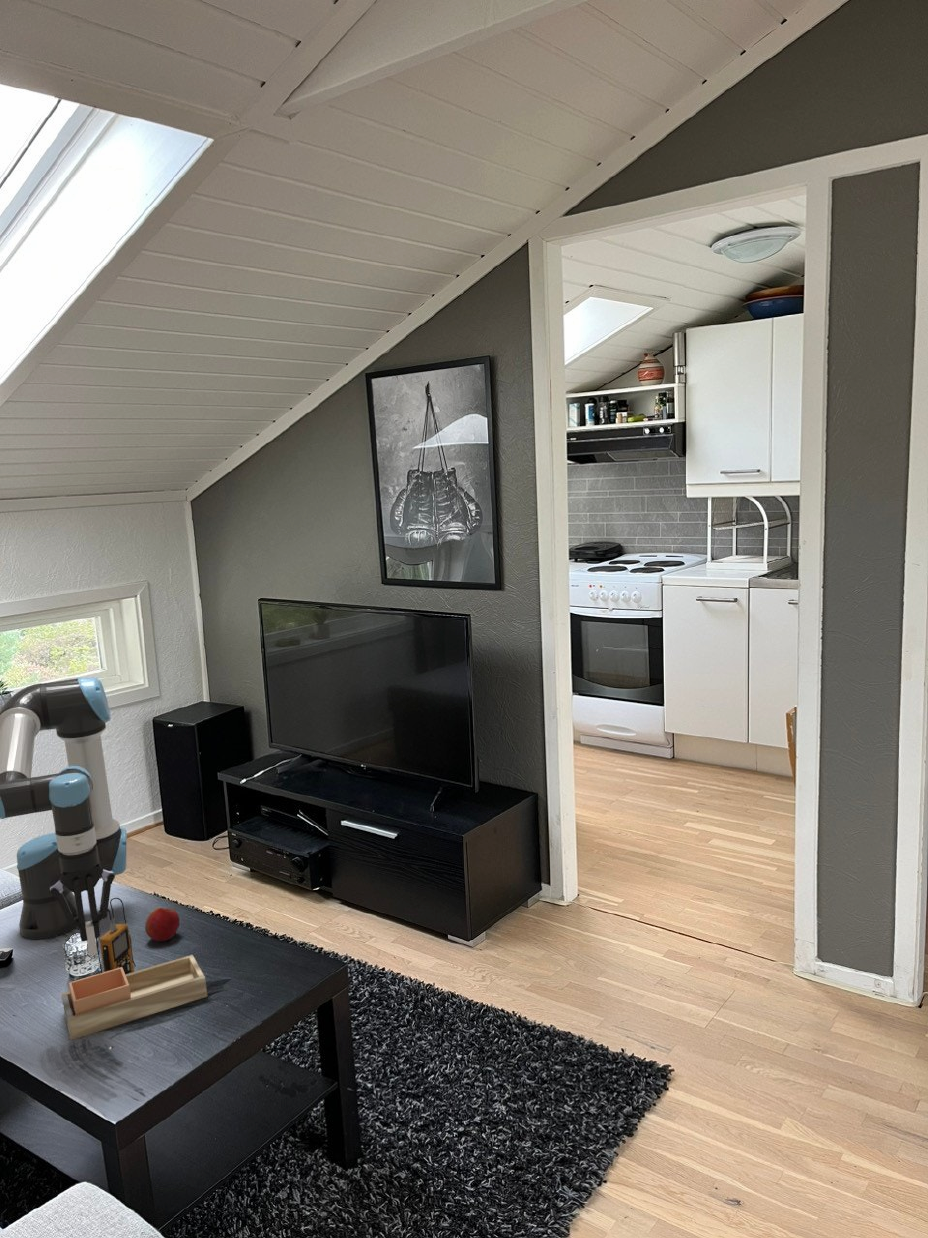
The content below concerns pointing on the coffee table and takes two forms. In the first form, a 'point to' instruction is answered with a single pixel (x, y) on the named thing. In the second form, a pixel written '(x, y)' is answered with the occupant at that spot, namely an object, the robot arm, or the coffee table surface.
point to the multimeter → (116, 947)
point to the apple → (162, 924)
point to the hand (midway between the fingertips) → (92, 952)
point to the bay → (142, 996)
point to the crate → (99, 990)
